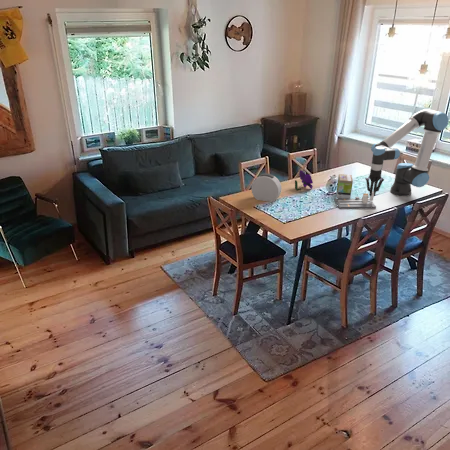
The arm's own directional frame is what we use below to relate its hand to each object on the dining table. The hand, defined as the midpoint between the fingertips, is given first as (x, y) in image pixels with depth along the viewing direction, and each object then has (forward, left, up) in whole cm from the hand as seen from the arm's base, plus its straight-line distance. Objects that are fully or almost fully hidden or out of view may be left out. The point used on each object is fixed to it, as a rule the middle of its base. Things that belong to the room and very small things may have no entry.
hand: (371, 200), depth 306 cm
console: (+12, 0, -4) cm, 12 cm away
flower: (+45, -31, -4) cm, 55 cm away
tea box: (+16, -18, -4) cm, 24 cm away
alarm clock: (+76, -11, -4) cm, 77 cm away
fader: (+5, 0, -2) cm, 5 cm away
